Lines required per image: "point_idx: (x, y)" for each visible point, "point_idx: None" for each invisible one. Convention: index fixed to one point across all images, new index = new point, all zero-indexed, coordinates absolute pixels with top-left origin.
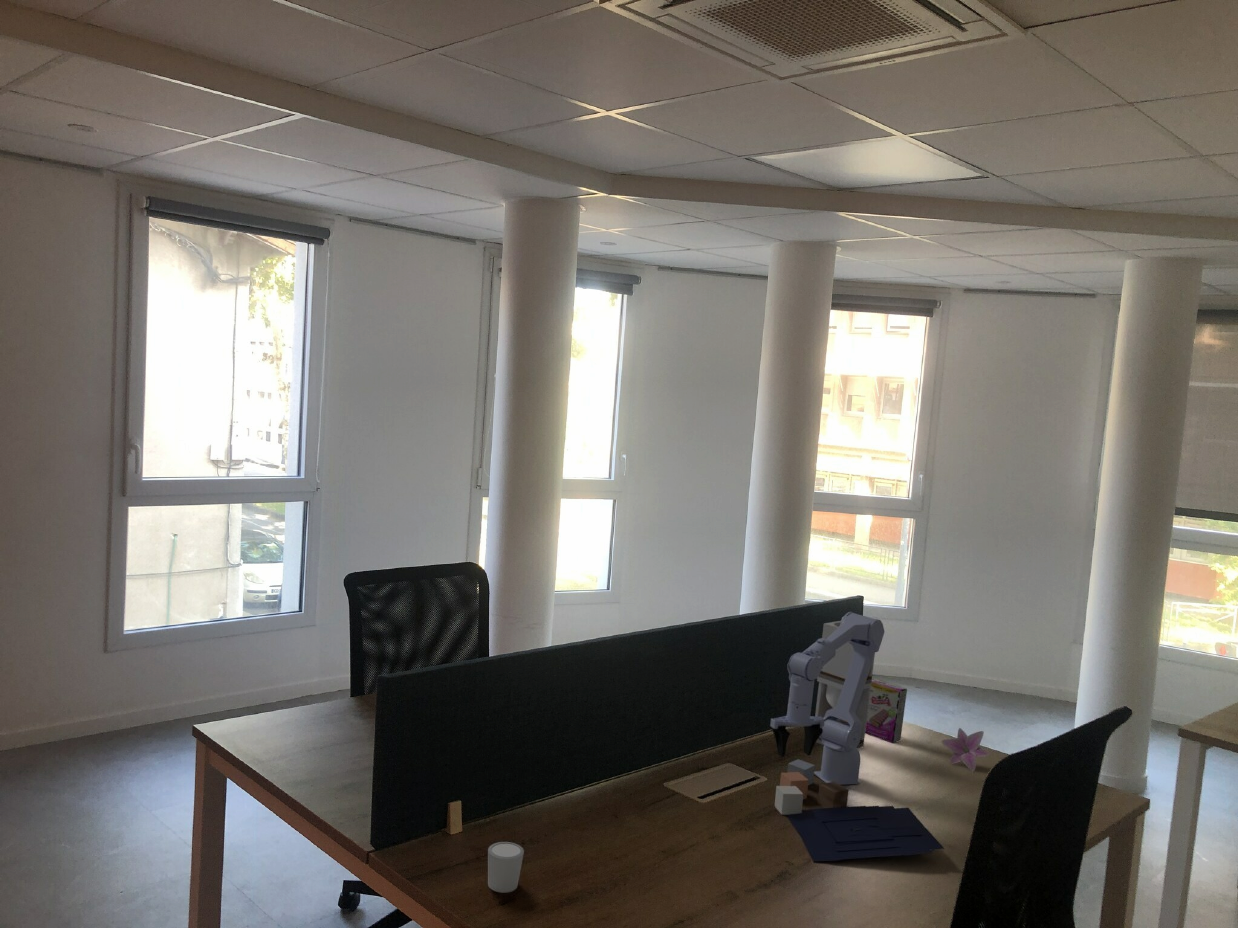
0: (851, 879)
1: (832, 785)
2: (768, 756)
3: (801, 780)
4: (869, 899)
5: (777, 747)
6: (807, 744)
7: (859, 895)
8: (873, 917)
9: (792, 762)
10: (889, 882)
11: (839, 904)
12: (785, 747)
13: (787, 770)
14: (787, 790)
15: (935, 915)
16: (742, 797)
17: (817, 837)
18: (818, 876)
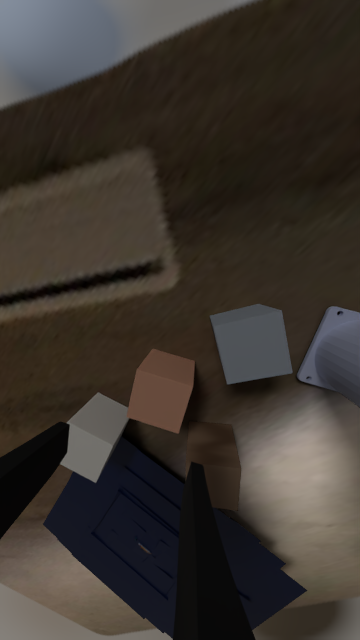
0: (63, 563)
1: (215, 480)
2: (309, 141)
3: (157, 426)
4: (55, 588)
5: (28, 444)
6: (185, 540)
7: (50, 580)
8: (37, 601)
9: (234, 326)
10: (103, 588)
11: (18, 575)
12: (15, 515)
13: (211, 321)
14: (75, 452)
15: (101, 632)
16: (59, 339)
17: (84, 502)
18: (29, 541)
